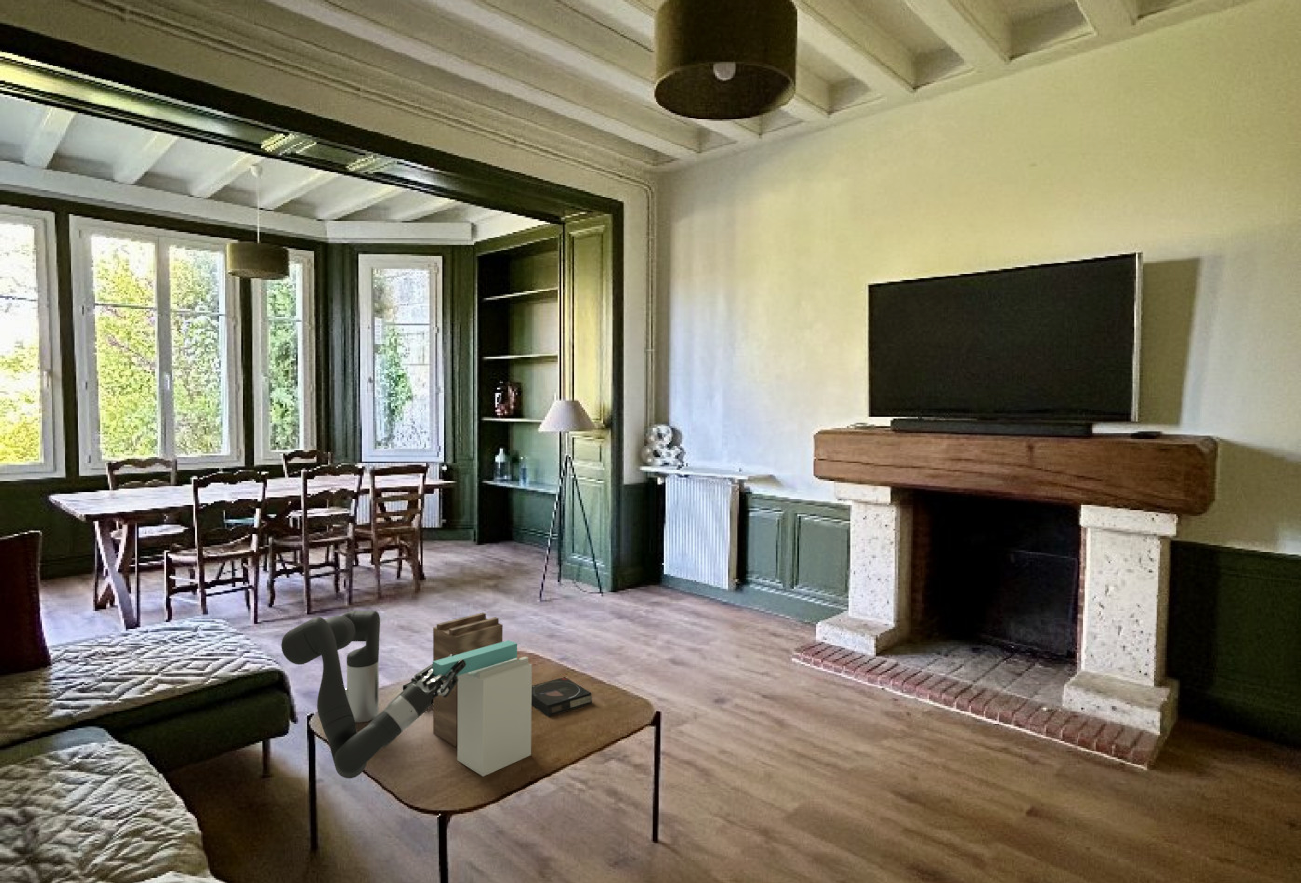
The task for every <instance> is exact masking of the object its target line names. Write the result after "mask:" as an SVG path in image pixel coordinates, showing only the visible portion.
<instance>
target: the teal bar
mask: <svg viewBox="0 0 1301 883" xmlns="http://www.w3.org/2000/svg"><path fill="white" fill-rule="evenodd" d="M514 658H517V659H518V643H516V642H515V641H511V640H509V639H507V640H505V641H502V642H500V643H497V644H493V645H490V646H486V647H482V648H479V649H475V650H472V651H468V652H465V653H461V654H457V655H454V656H450V657H447V658H443V659H439V660H436V661H432V664H433V671H434V675H435V676H438V675H439V674H445V673H446V672H447V671H448V670H449V669H451V668H452V667H453V666H454V665H455V664H456V663H457V662H458V661H459V660H460V659H463V660H464V661H465V663H466V666H465V667H464V668H463V669H462V670H461V671H460V672H459V673H458V674H457V675H456V676H459V675H462V674H465V673H468V672H472V671H475V670H478V669H481V668H485V667H488V666H491V665H495V664H498V663H501V662H504V661H508V660H511V659H514ZM448 677H449V675H448V676H447V677H446V679H447V678H448ZM442 680H443V679H441V681H442Z"/></svg>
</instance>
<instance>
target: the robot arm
mask: <svg viewBox="0 0 1301 883" xmlns="http://www.w3.org/2000/svg"><path fill="white" fill-rule="evenodd" d="M380 633H381V616H380V614H379V612H378V611H377V610H350V611H347V612H345V613H343V614H342V615H336V616H332V617H328V618H323V617H320V616H317V617H316V616H315V617H313V618H311V619H309V620H306V621H305V622H303V623H301V624H300V625H297V626H295V627H294V628H292V629H290V630H288V631H287V632H286V633H285V634H284V635H283V637H282V639H281V644H280V645H281V646H280V648H281V651H282V654H283V656H284V658H286V660H287V661H288V662H290V663H292V664H294V665H298V666H299V665H300V666H301V665H305V664H307V663H309V662H311V661H313V660H315V659H317V658H319V657H321V659H322V676H321V681H320V686H319V690H318V696H317V700H316V702H317V703H316V707H317V708H316V710H317V714H318V717H319V720H320V723H321V724H320V725H321V727H322V729H323V733H324V735H325V737H326V739H327V740H328V745H329V749H330V753H331V757H332V761H333V765H334V768H335V770H336V772H337V774H338V775H339V776H340V777H342V778H344V779H354V778H357V777H359V775H361V774H362V773H363V772H364V770H365V769H366V767H367V763H368V762H369V761H370V760H371V759H372V758H373V757H374V756H375V755H376V754H377V753H378V752H379V751H380V750H382V748H385V747H387V746H388V745H390V744H391V743H392V742H394V740H395V739H396V738H397V737H399V735H400V734H401V733H403V732H404V731H405V730H406V729H408V728H409V727H410V726H411V725H412V724H413V723H415V721H416V720H418V719H419V718H420V716H422V715H423V714H424V713H425V712H426V711H427V710H428V709H429V708H430V707H431V706H432V705H431V700H432V699H433V698H435V697H437V696H438V695H443V697H444V698H445V697H447V696H448V695H449V693H450V692H451V690H452V689H453V688H454V686H455V685H456V683H457V682H458V678H457V677H456V675H457V674H458V673H459V672H460V671H461V670H462V669H463V668H464V667H465V666H466V663H465V661H464V660H463V659H460V660H459V661H458V662H457V663H456V664H455V665H454V666H453V667H452V668H451V669H449V670H448V671H447V672H446V673H445V674H439V675H438V676H435V675H434V671H433V663H431V664H430V665H428V666H427V667H425V668H423V669H422V670H421V671H419V672H418V673H416V674H415V675H414V677H413V678H415V679H416V681H417V683H416V684H410V685H409V686H408V687H407V688H406V689H405V690H402V691H401V692H400V693H399V694H398V695H397V696H396V697H394V698H393V700H391V701H390V702H389V703H388V704H387V706H386V707H385V708H384V709H383V710H382V711H381V712H380V688H379V686H380V684H379V680H380V679H379V677H380V676H379V675H380V674H379V673H380V670H379V669H380V668H379V666H380V665H379V664H380V663H379V661H380V660H379V659H380V658H379V654H380ZM352 642H365V645H363V646H362V647H360V648H356V649H354V650H352V651H351V652H349V653H348V654H347V656H346V687H345V684H344V678H343V674H342V666H341V661H340V656H339V650H341V649H344V648H346V647H348V646H349V645H350V644H351V643H352ZM450 656H454V655H452V654H451V655H450ZM450 656H448V657H450ZM448 675H449V677H448V678H447V679H446V677H447V676H448ZM441 679H443V680H444V683H443V682H442V681H441ZM452 680H453V681H452ZM451 681H452V683H451ZM369 721H370V722H369ZM365 722H369V723H368V724H367V725H366V726H365V727H364V728H362V729H360V730H359V731H357V725H356V723H365Z"/></svg>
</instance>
